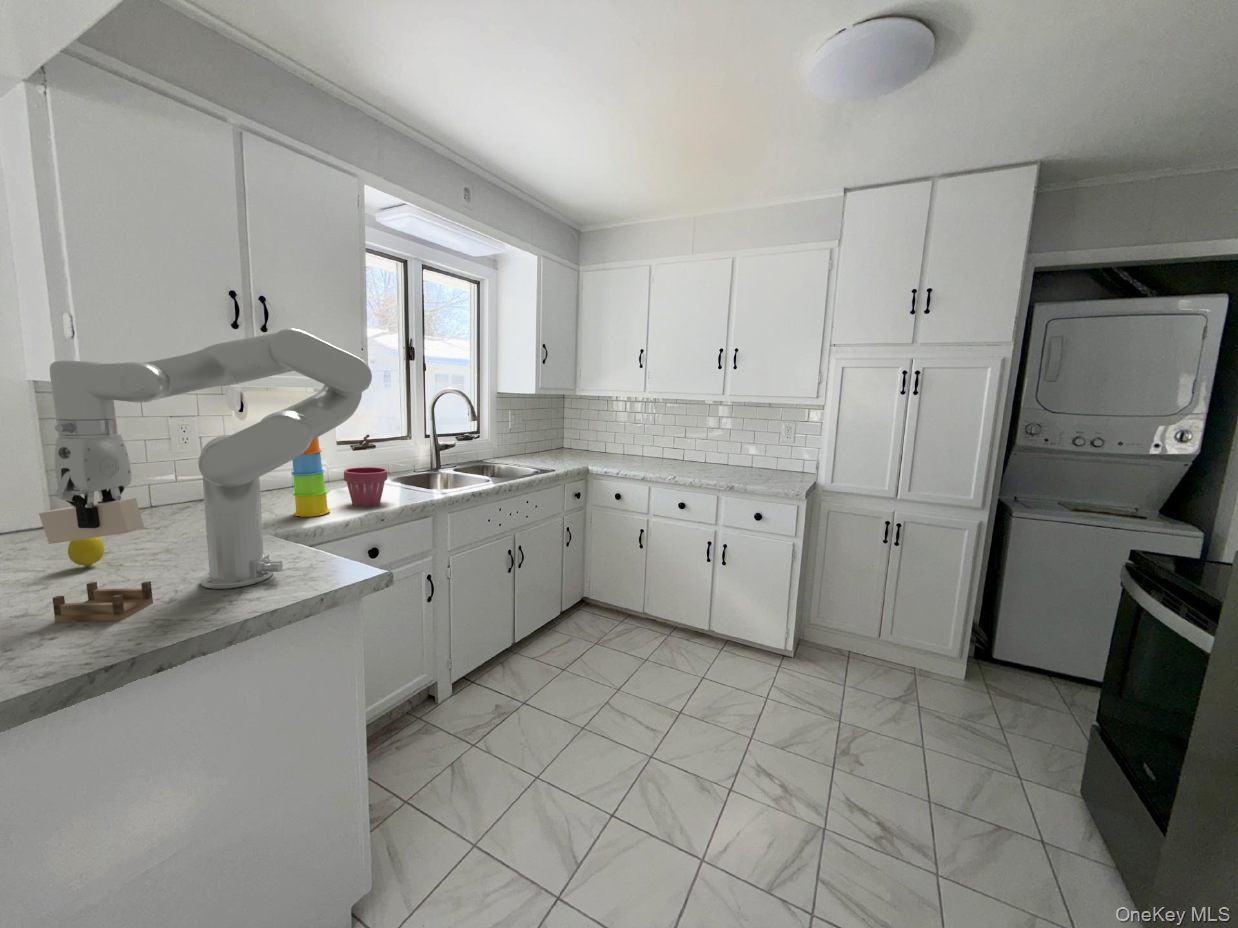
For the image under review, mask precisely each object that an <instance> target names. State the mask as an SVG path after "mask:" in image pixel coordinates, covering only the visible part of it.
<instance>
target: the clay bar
mask: <svg viewBox="0 0 1238 928" xmlns="http://www.w3.org/2000/svg"><path fill="white" fill-rule="evenodd" d="M93 507H97V508H98V516H99V524H100V526H99V527H98V528H79V527H78V522H77V514H76V508H73V507H72V506H69V507H61V508H55V509H52V510H47V511H42V512H39V513H38V515H39V519H40V521H41V523H42V524H41V525H42V527H43V530H44V534H45V537H46V540H47V542H48V544H49V545H52V544H58V543H64V542H65V543H66V542H71V541H74V540H81V539H87V538H94V537H99V538H101V537H108V536H113V535H115V536H116V535H120V534H127V533H132V532H135V531H137V530H141V529H144V528H145V525H144V521H143V518H142V515H141V511H140V508H139V504H138V502H137V497H133V498H131V497H130V498H125V499H121V500H117V501H110V502H103V503H98V502H97V503H94V506H93Z"/></svg>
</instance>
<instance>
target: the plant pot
mask: <svg viewBox="0 0 1238 928" xmlns="http://www.w3.org/2000/svg"><path fill="white" fill-rule="evenodd" d="M387 480H388V470H387V468H384V467H374V466H369V467H368V466H367V467H366V466H362V467H360V466H358V467H350V468H345V469H344V470H343V481H344V482H346V485H347V488H348V493H349V497H350V499H351V504H352V506H354V507H359V508H360V507H361V508H362V507H364V508H365V507H374V506H375V507H376V506H378V505H380V504H381V500H382V496H383V492H384V488H385V482H386V481H387Z"/></svg>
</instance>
